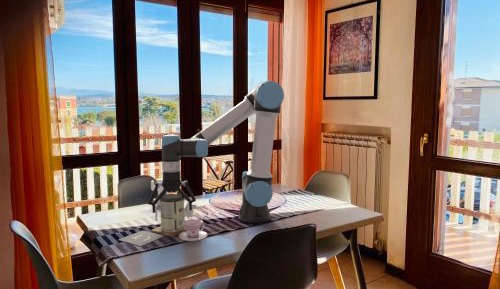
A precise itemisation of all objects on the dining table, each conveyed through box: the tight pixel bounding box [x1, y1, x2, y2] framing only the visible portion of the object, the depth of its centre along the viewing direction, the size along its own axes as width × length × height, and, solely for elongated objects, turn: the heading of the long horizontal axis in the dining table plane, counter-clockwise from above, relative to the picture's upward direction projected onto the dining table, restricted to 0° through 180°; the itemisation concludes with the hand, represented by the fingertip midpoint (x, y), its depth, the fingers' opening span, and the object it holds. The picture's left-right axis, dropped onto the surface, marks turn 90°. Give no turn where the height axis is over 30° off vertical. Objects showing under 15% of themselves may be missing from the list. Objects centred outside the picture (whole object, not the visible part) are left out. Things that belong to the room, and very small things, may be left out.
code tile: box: [118, 230, 165, 247], centre depth 152 cm, size 13×13×1 cm
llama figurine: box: [184, 203, 209, 221], centre depth 175 cm, size 2×12×20 cm
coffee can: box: [159, 193, 185, 232], centre depth 161 cm, size 10×10×14 cm
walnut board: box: [150, 225, 186, 238], centre depth 162 cm, size 13×13×1 cm
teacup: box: [178, 218, 208, 242], centre depth 154 cm, size 12×12×6 cm
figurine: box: [150, 177, 170, 209], centre depth 199 cm, size 7×9×15 cm
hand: (172, 218), depth 161 cm, fingers open, 13 cm apart
